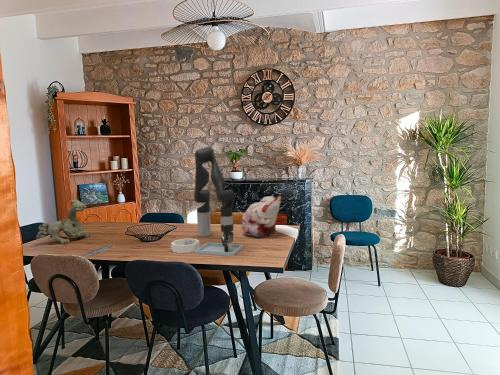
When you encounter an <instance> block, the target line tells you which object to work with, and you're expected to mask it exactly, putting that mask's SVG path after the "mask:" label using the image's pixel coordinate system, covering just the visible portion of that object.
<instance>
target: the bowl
mask: <svg viewBox="0 0 500 375" xmlns="http://www.w3.org/2000/svg"><path fill="white" fill-rule="evenodd" d="M188 239H190V240H192V244H189V245H185V240H188ZM170 244H171V247H170V248H171V251H172V253H173V254H175V253H177V254H188V253H195V250H196V249H198V248H200V247H201V246H200V240H198V239H196V238H181V239H176V240H174V241H172V242H171V243H170Z"/></svg>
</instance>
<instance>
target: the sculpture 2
mask: <svg viewBox="0 0 500 375" xmlns="http://www.w3.org/2000/svg"><path fill="white" fill-rule="evenodd" d="M281 203H282V196H281V195H278V196H277V197H275V196H272V195H271V196H270V195H269V196H264V197H263V198H261V200H260V201H259V202H254V203H252V204H251V205H249V207H248V208H247V209H246V210H245V212H244V213H243V215H242V217H241V231H243V232H244V235H245V236H249V237H255V238H265V237H269V236H271V235H273V234H275V233H276V232H277V229H276V228H277V223H276V222H277V220H278V213H279V211H280V206H281Z"/></svg>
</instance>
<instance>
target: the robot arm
mask: <svg viewBox="0 0 500 375" xmlns="http://www.w3.org/2000/svg"><path fill="white" fill-rule="evenodd" d="M194 162H195V175H194V178H195V179H194V182H195V184H194V185H195V186H194V192H193V194H194V195H193V196H194V197H193V199H194V201H195V203H197V204H202V203H203V205H201V206H199V207H197V208H196V218H197V219H196V221H197V222H196V223H197V236H198V237H202V238H204V237H209V236H212V232H211V229H212V228H211V207H210V206H211V205H210V204H211V202H210V200H211V199H210V195H211V194H210V191H209V189H204V188H205V187H206V186H207V185H208V184H209V181H211V183H212V184H213V186H214V189H215V193H216V198H217V201H218V202H220V203H225V204H224V205H223V206H221V207H220V232H222V233H223V235H222V236H221V237H220V238H221V239H220V240H221V243H222V245H223V246H224V251H225V252H228V242H231V244H233V243H234V242H233V241H234V240H233V239H234V217H233V209H234V203H235V199H236V195H235V191H233V189H225V188H226V187H227V182H226V181H225V179H224V176H223V175H222V173H221V169H220V168H219V164H218V161H217V159H216V156H215V152H214V150H213V149H212V148H211V147H210V146H206V147H203V148H199V149H197V150H196V151H195V152H194ZM209 162H210V163H211V171H210V173H209V171H208V169H207V168H205V167H204V166H203V164H206V163H209ZM210 179H211V180H210Z"/></svg>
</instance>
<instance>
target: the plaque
mask: <svg viewBox="0 0 500 375" xmlns="http://www.w3.org/2000/svg"><path fill="white" fill-rule="evenodd" d="M116 247H117V246H116V245H104V246H103V247H99V248H97V249H94V250H92V251H90V252H88V253H85V254H82V255H81V256H82V257H85V258H84V259H86V258H88V257H90V256H93V255H96V254H98V253H101V252H102V253H103V252H105V251H107V250H109V249H112V248H113V249H114V248H116Z"/></svg>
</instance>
